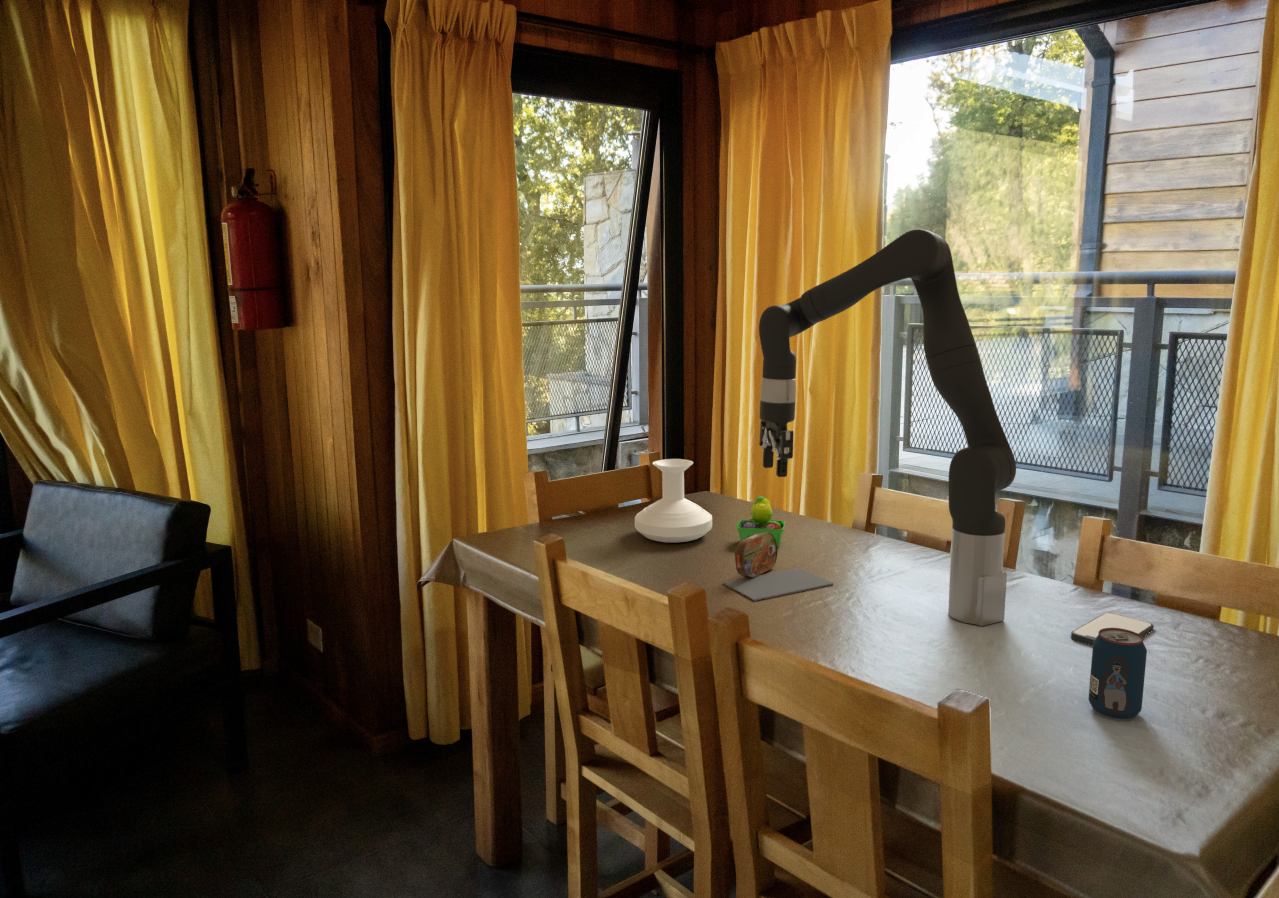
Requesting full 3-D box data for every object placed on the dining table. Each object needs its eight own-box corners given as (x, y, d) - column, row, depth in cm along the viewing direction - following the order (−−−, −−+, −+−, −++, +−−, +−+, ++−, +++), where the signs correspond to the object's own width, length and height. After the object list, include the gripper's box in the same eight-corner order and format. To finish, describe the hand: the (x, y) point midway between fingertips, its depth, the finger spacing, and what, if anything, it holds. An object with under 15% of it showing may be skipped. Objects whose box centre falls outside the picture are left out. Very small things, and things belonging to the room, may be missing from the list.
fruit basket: (736, 547, 214) (736, 502, 211) (740, 537, 222) (740, 493, 220) (783, 549, 211) (783, 504, 209) (785, 539, 219) (786, 495, 217)
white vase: (622, 532, 228) (620, 460, 225) (689, 522, 237) (689, 452, 233) (655, 552, 211) (654, 474, 207) (727, 541, 219) (727, 465, 215)
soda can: (1123, 699, 133) (1130, 625, 131) (1151, 722, 126) (1158, 643, 124) (1078, 701, 133) (1084, 626, 131) (1104, 723, 126) (1110, 645, 124)
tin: (745, 581, 187) (744, 543, 186) (733, 580, 189) (731, 542, 188) (779, 565, 198) (778, 529, 198) (767, 564, 200) (765, 528, 199)
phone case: (1105, 619, 166) (1067, 640, 156) (1105, 611, 166) (1068, 632, 156) (1155, 632, 159) (1120, 655, 149) (1156, 624, 159) (1121, 647, 149)
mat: (833, 584, 186) (833, 583, 185) (754, 601, 177) (754, 599, 177) (799, 569, 196) (799, 567, 196) (723, 584, 188) (723, 582, 187)
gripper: (807, 403, 182) (803, 479, 185) (782, 393, 195) (779, 464, 199) (772, 404, 180) (769, 480, 184) (750, 394, 194) (747, 465, 197)
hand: (774, 471), depth 191 cm, fingers open, 8 cm apart
